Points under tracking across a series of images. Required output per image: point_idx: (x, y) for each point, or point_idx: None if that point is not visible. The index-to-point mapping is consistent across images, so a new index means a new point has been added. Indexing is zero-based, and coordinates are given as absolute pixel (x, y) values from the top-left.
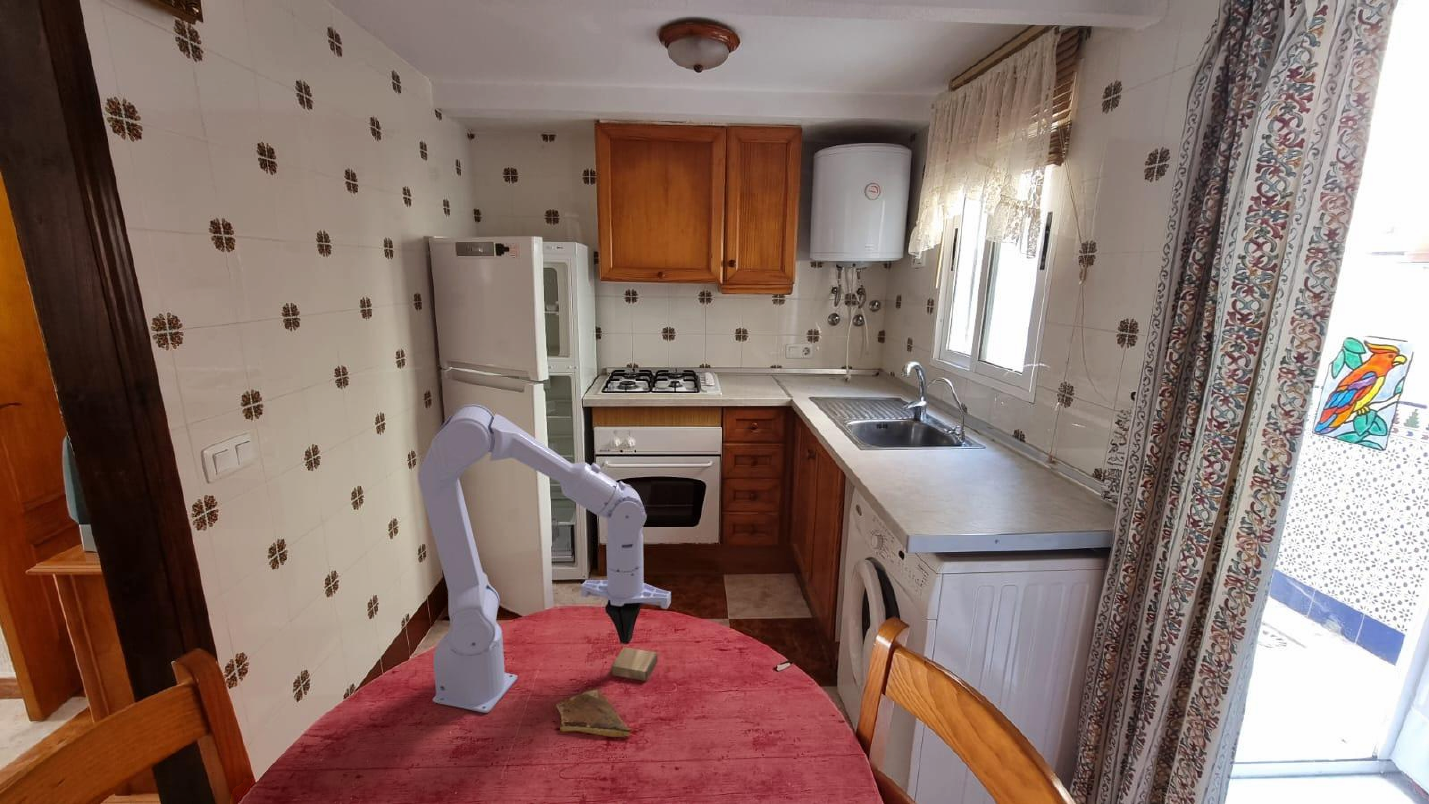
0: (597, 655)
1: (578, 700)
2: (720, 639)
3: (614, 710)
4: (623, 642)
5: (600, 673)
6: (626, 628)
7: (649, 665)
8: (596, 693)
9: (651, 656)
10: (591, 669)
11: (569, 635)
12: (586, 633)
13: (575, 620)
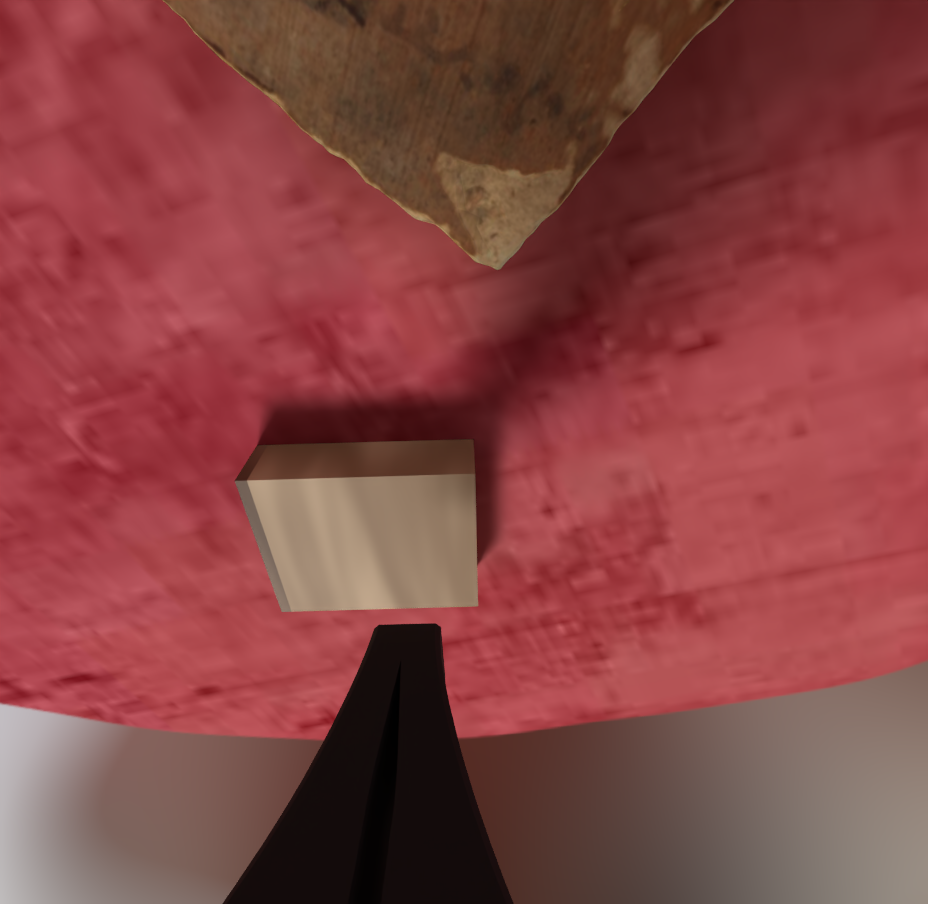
0: (610, 539)
1: (579, 56)
2: (132, 714)
3: (229, 54)
4: (409, 632)
5: (543, 432)
6: (337, 783)
7: (259, 527)
8: (475, 223)
9: (293, 584)
10: (607, 446)
11: (794, 613)
12: (711, 637)
13: (783, 684)
